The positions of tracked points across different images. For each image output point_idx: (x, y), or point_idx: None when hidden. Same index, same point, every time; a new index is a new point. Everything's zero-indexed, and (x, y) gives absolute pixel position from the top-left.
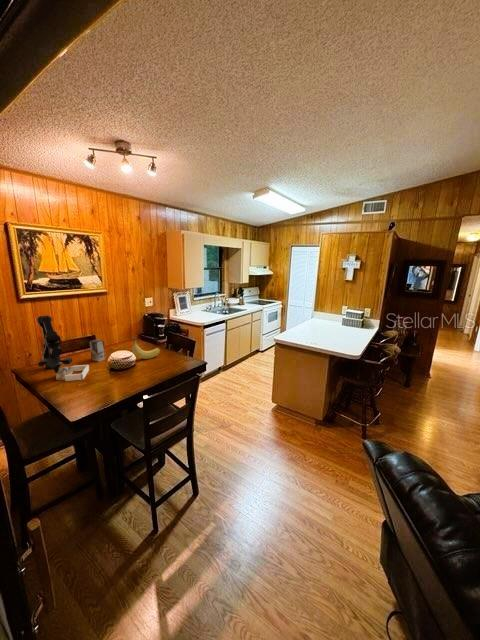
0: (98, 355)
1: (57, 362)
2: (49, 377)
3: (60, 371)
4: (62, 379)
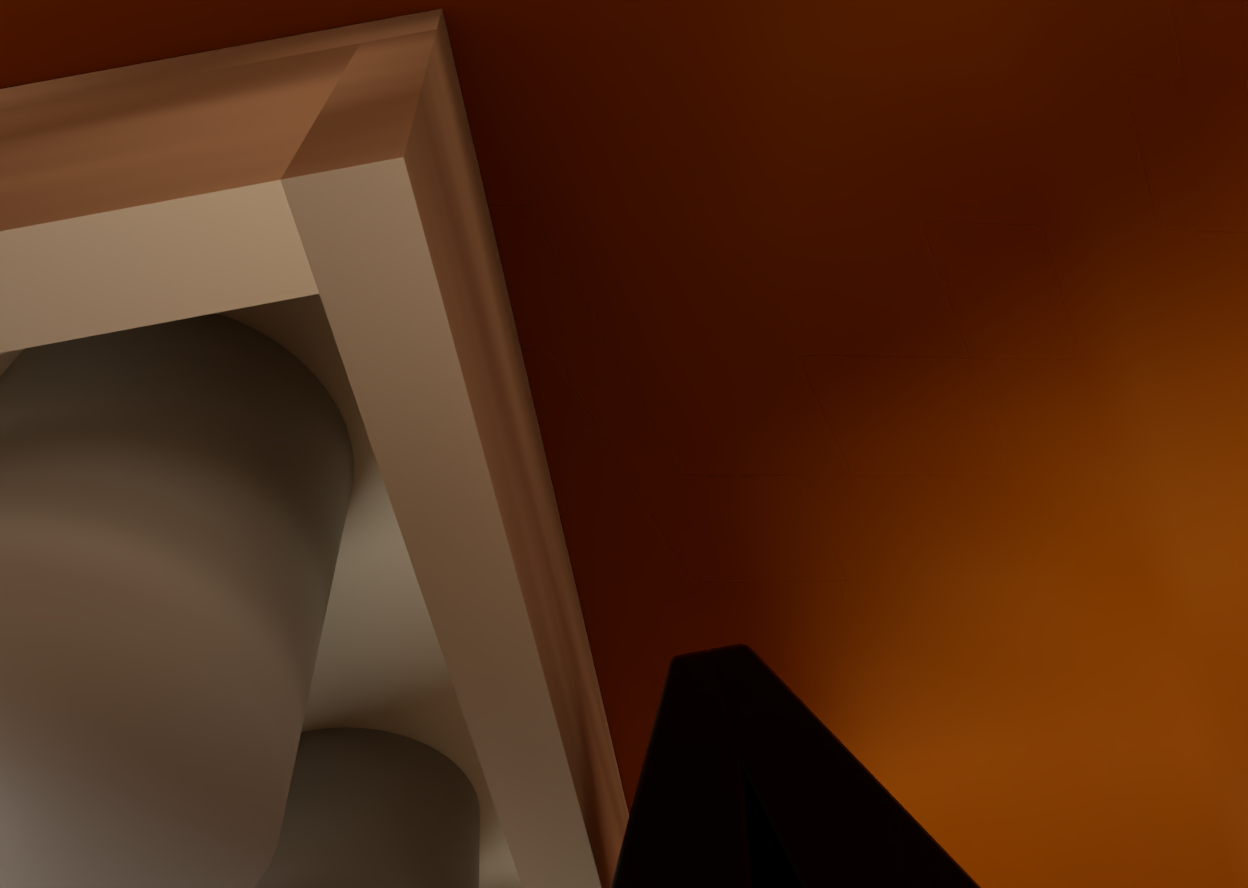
0: None
1: None
2: (1080, 465)
3: (218, 748)
4: (12, 88)
